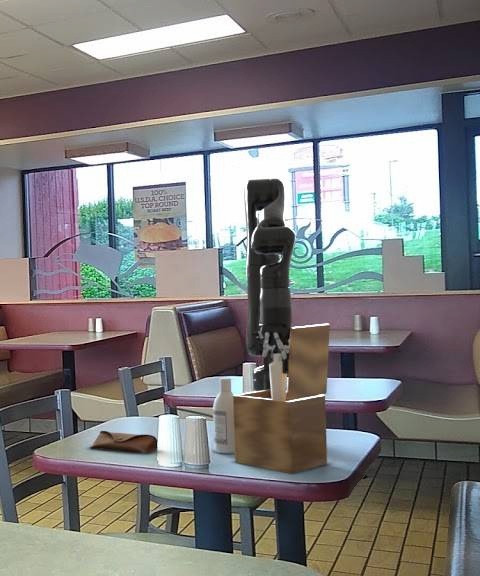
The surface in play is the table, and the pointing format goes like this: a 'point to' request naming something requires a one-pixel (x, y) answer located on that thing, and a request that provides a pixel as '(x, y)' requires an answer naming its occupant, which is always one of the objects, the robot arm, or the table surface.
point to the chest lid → (308, 361)
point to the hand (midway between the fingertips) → (277, 372)
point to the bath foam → (224, 419)
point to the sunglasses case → (125, 442)
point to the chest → (280, 431)
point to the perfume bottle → (277, 379)
